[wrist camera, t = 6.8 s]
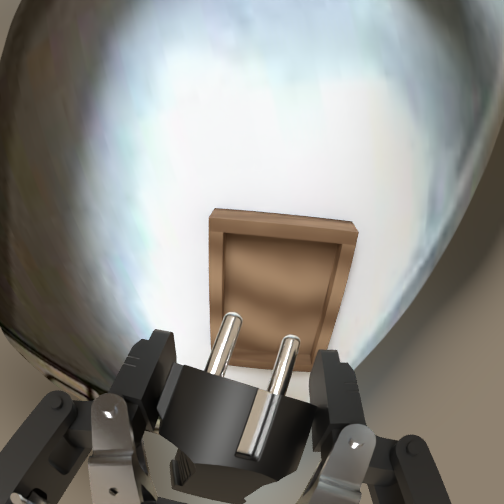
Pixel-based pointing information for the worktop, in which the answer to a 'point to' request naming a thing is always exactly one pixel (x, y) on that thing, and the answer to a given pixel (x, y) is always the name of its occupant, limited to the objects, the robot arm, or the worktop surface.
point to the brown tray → (277, 281)
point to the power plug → (232, 423)
